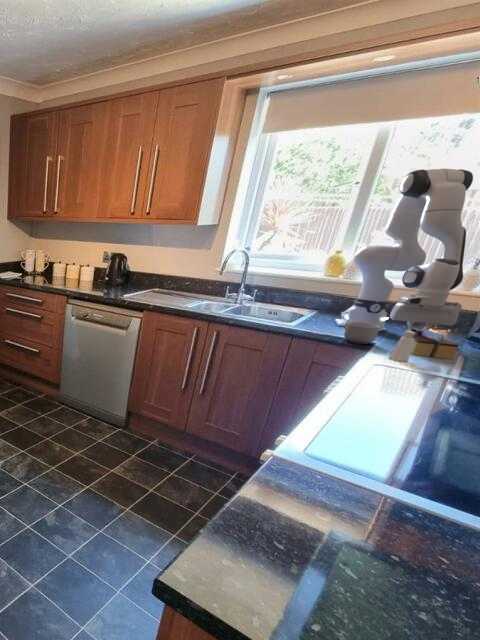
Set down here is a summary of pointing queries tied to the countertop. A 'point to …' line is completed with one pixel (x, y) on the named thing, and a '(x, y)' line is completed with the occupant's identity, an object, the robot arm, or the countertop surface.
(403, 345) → the pepper shaker
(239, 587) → the countertop surface
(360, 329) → the teacup
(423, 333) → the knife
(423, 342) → the two-panel tan box
